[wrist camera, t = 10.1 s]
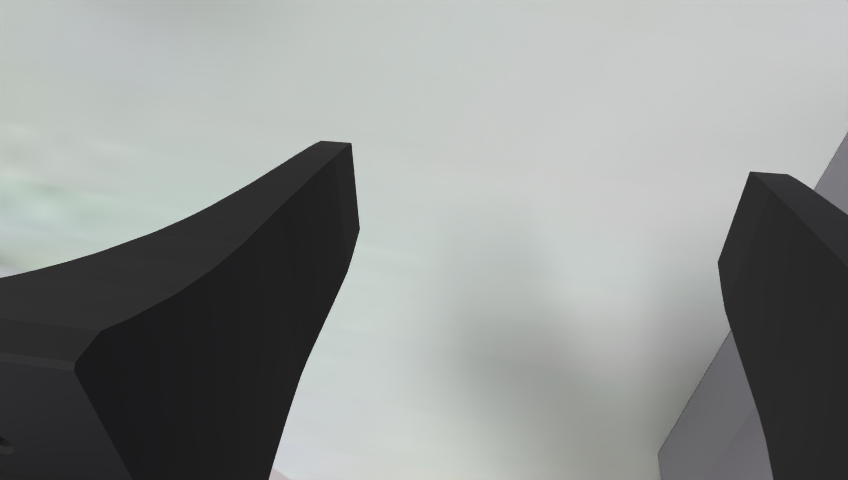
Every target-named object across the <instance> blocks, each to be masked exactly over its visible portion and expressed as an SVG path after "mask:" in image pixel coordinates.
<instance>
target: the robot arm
mask: <svg viewBox="0 0 848 480" xmlns="http://www.w3.org/2000/svg"><path fill="white" fill-rule="evenodd" d="M359 230H360V227H359V217H358V206H357V196H356V186H355V176H354V165H353V155H352V145H351V143H344V142H330V141H320V142H318V143H316V144H314V145H312V146H310V147H308V148H307V149H305V150H303V151H302V152H300V153H298V154H297V155H295V156H294V157H292V158H290V159H289V160H287V161H286V162H284V163H283V164H281V165H279V166H278V167H276V168H275V169H273V170H271V171H270V172H268V173H267V174H265V175H263V176H262V177H260V178H259V179H257V180H255V181H254V182H252V183H250V184H249V185H247V186H245V187H243V188H242V189H240V190H238V191H236V192H235V193H233V194H231V195H229V196H227V197H226V198H224V199H222V200H220V201H219V202H217V203H215V204H213V205H211V206H210V207H208V208H206V209H204V210H202V211H200V212H198V213H196V214H194V215H192V216H190V217H187V218H185V219H183V220H181V221H179V222H176V223H174V224H172V225H170V226H167V227H165V228H163V229H161V230H158V231H156V232H153V233H151V234H148V235H145V236H143V237H140V238H137V239H134V240H131V241H129V242H126V243H123V244H120V245H118V246H115V247H112V248H109V249H107V250H104V251H101V252H98V253H95V254H92V255H88V256H85V257H81V258H78V259H75V260H71V261H68V262H64V263H61V264H57V265H53V266H49V267H46V268H42V269H38V270H34V271H30V272H26V273H22V274H17V275H13V276H8V277H3V278H0V480H269V476H270V472H271V469H272V466H273V462H274V459H275V456H276V452H277V449H278V446H279V443H280V439H281V436H282V433H283V429H284V426H285V423H286V420H287V416H288V413H289V410H290V407H291V404H292V401H293V398H294V395H295V392H296V389H297V386H298V383H299V380H300V377H301V374H302V372H303V369H304V367H305V365H306V362H307V360H308V357H309V355H310V353H311V351H312V348H313V346H314V344H315V342H316V340H317V338H318V335H319V333H320V331H321V329H322V327H323V325H324V322H325V320H326V318H327V316H328V314H329V312H330V309H331V307H332V305H333V303H334V301H335V298H336V296H337V294H338V292H339V290H340V287H341V285H342V283H343V281H344V278H345V276H346V274H347V271H348V269H349V265H350V262H351V259H352V255H353V252H354V248H355V245H356V241H357V237H358V234H359ZM718 268H719V275H720V282H721V290H722V295H723V301H724V307H725V311H726V315H727V318H728V321H729V325H730V328H731V331H732V334H733V337H734V340H735V344H736V347H737V350H738V353H739V356H740V359H741V362H742V365H743V368H744V371H745V374H746V377H747V380H748V383H749V386H750V389H751V392H752V396H753V399H754V402H755V405H756V408H757V411H758V414H759V417H760V421H761V425H762V428H763V432H764V436H765V440H766V445H767V450H768V455H769V460H770V465H771V470H772V475H773V480H848V215H847V214H846V213H845V212H843V211H842V210H840V209H839V208H838V207H836V206H835V205H833V204H832V203H831V202H829V201H828V200H826V199H825V198H824V197H822V196H821V195H819V194H818V193H817V192H815V191H814V190H812V189H811V188H809V187H808V186H806V185H805V184H803V183H802V182H800V181H798V180H797V179H795V178H793V177H792V176H790V175H788V174H776V173H762V172H750V173H749V176H748V179H747V182H746V185H745V187H744V190H743V193H742V196H741V199H740V201H739V204H738V207H737V210H736V213H735V216H734V218H733V221H732V224H731V227H730V230H729V232H728V235H727V238H726V241H725V244H724V247H723V249H722V252H721V255H720V258H719V261H718Z"/></svg>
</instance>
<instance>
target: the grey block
mask: <svg viewBox="0 0 848 480" xmlns="http://www.w3.org/2000/svg"><path fill="white" fill-rule="evenodd" d="M814 191H815V192H817V193H818V194H819V195H821V196H822V197H824V198H825V199H826V200H828V201H829V202H831V203H832V204H833V205H835V206H836V207H838V208H839V209H840V210H842V211H843V212H845V213H846V214H847V215H848V134H847V135H846V137H845V139H844V140H843V142H842V144H841V145H840V147H839V149H838V150H837V152H836V154H835V155H834V157H833V159H832V161H831V162H830V164H829V166H828V167H827V169H826V171H825V172H824V174H823V176H822V177H821V179H820V181H819V183H818V184H817V186H816V188H815V189H814ZM658 458H659V465H660V472H661V479H662V480H773V475H772V470H771V465H770V460H769V455H768V450H767V445H766V440H765V436H764V432H763V428H762V425H761V421H760V417H759V414H758V411H757V408H756V405H755V402H754V399H753V396H752V392H751V389H750V386H749V383H748V380H747V377H746V374H745V371H744V368H743V365H742V362H741V359H740V356H739V353H738V350H737V347H736V344H735V340H734V337H733V334H732V331H730V333H729V335H728V336H727V338H726V340H725V341H724V343H723V345H722V347H721V348H720V350H719V352H718V353H717V355H716V357H715V358H714V360H713V362H712V363H711V365H710V367H709V368H708V370H707V372H706V374H705V375H704V377H703V379H702V380H701V382H700V384H699V385H698V387H697V389H696V390H695V392H694V394H693V396H692V397H691V399H690V401H689V402H688V404H687V406H686V407H685V409H684V411H683V412H682V414H681V416H680V418H679V419H678V421H677V423H676V424H675V426H674V428H673V429H672V431H671V433H670V434H669V436H668V438H667V439H666V441H665V443H664V445H663V446H662V448H661V450H660V451H659V453H658Z"/></svg>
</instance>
